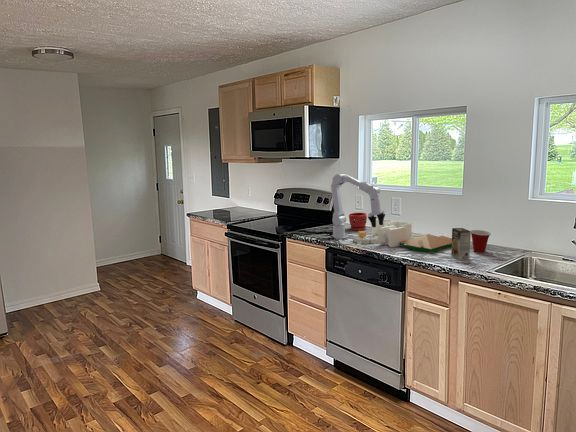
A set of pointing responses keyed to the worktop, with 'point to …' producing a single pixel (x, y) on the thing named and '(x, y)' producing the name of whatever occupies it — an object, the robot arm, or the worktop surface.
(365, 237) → the frame
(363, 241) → the clip
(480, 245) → the plastic cup
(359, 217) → the plant pot
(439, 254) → the worktop surface
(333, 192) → the robot arm
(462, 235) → the coffee box
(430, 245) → the house
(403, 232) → the cable organizer
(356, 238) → the clip
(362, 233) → the orange block
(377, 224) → the white slotted rack
